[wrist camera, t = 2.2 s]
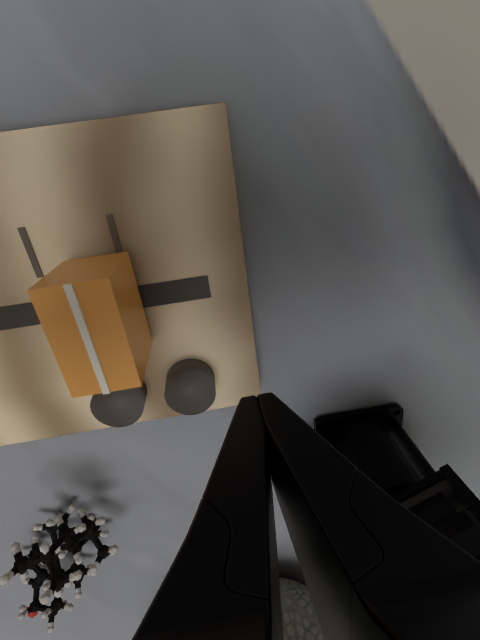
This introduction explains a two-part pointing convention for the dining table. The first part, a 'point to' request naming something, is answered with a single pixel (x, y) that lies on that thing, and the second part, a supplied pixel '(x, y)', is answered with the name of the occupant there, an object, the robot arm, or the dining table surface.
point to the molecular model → (58, 562)
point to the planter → (298, 612)
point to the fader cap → (94, 323)
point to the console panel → (146, 258)
